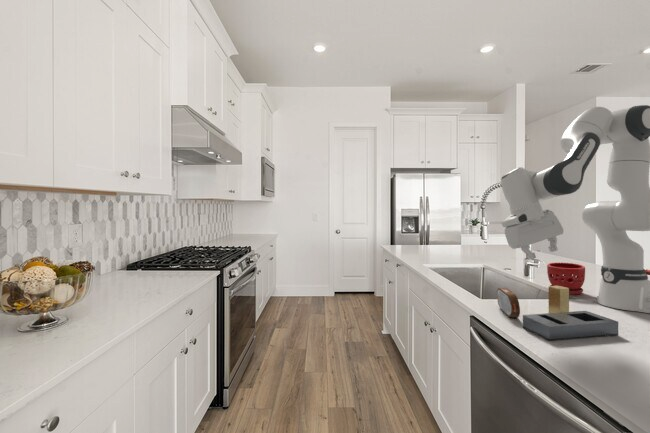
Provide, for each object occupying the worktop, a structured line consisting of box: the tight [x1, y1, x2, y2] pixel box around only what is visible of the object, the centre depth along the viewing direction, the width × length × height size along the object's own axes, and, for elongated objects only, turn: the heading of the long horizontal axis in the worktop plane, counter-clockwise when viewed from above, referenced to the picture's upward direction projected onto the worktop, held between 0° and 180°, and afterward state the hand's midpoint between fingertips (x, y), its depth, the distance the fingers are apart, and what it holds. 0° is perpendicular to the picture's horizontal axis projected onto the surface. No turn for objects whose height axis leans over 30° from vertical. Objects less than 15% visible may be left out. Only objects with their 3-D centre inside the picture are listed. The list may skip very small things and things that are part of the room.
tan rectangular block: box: [548, 285, 570, 313], centre depth 108 cm, size 4×4×10 cm
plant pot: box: [546, 262, 586, 296], centre depth 137 cm, size 13×13×12 cm
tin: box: [496, 286, 521, 318], centre depth 112 cm, size 15×3×8 cm, turn 168°
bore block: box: [522, 310, 619, 342], centre depth 95 cm, size 22×10×4 cm, turn 97°
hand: (543, 254), depth 105 cm, fingers open, 8 cm apart
